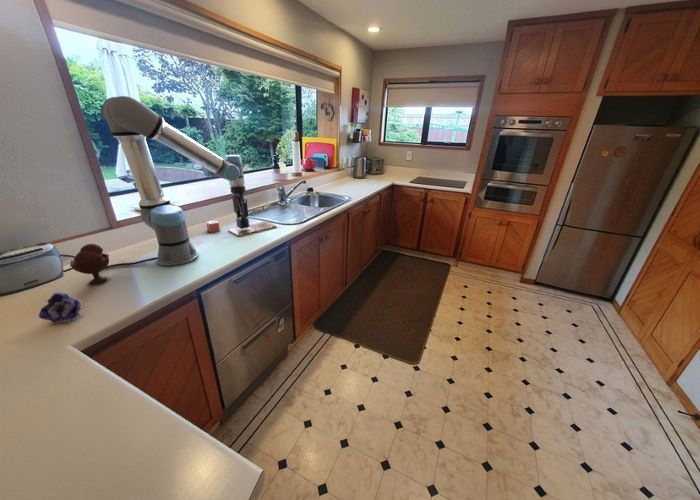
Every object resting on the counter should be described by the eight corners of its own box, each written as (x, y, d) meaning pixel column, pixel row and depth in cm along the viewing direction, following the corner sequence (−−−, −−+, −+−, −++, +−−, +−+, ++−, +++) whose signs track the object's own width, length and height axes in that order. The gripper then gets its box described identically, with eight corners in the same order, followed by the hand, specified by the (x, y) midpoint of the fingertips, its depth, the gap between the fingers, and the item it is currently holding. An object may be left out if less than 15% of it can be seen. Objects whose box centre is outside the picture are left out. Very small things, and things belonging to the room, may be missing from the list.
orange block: (210, 232, 157) (209, 223, 155) (207, 230, 160) (205, 221, 158) (219, 230, 160) (218, 222, 158) (216, 228, 164) (214, 219, 161)
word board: (238, 236, 153) (237, 235, 152) (228, 231, 160) (228, 229, 160) (276, 227, 169) (276, 225, 168) (266, 222, 176) (266, 221, 176)
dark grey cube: (241, 228, 156) (239, 219, 154) (237, 226, 160) (235, 217, 157) (249, 226, 160) (248, 218, 158) (245, 224, 163) (244, 216, 161)
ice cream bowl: (86, 277, 109) (72, 241, 103) (121, 273, 113) (109, 238, 107) (73, 291, 100) (56, 253, 94) (111, 286, 104) (97, 249, 98)
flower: (40, 294, 87) (43, 291, 80) (79, 294, 93) (84, 292, 87) (35, 325, 85) (37, 324, 78) (74, 323, 91) (80, 322, 85)
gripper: (252, 187, 147) (256, 229, 156) (236, 182, 158) (242, 221, 168) (238, 189, 142) (244, 232, 151) (223, 183, 153) (229, 223, 163)
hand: (243, 226), depth 159 cm, fingers closed on dark grey cube, 5 cm apart
